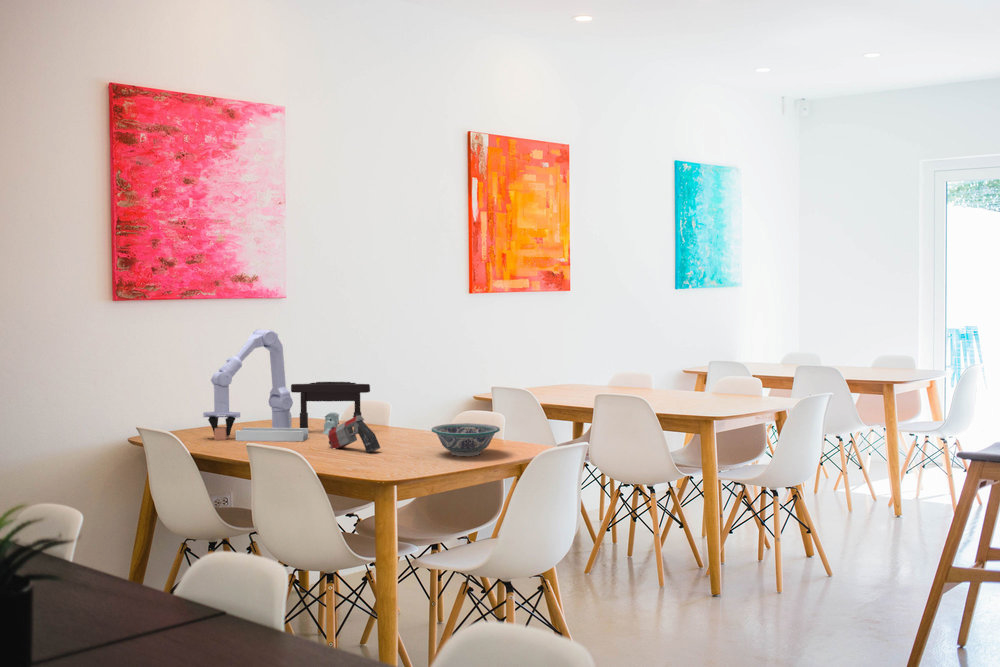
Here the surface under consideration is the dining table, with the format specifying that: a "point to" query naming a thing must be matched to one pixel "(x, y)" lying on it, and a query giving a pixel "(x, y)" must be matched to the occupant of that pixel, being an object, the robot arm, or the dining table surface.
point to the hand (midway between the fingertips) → (222, 435)
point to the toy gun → (353, 434)
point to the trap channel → (272, 434)
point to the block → (221, 433)
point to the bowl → (465, 437)
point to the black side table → (328, 398)
